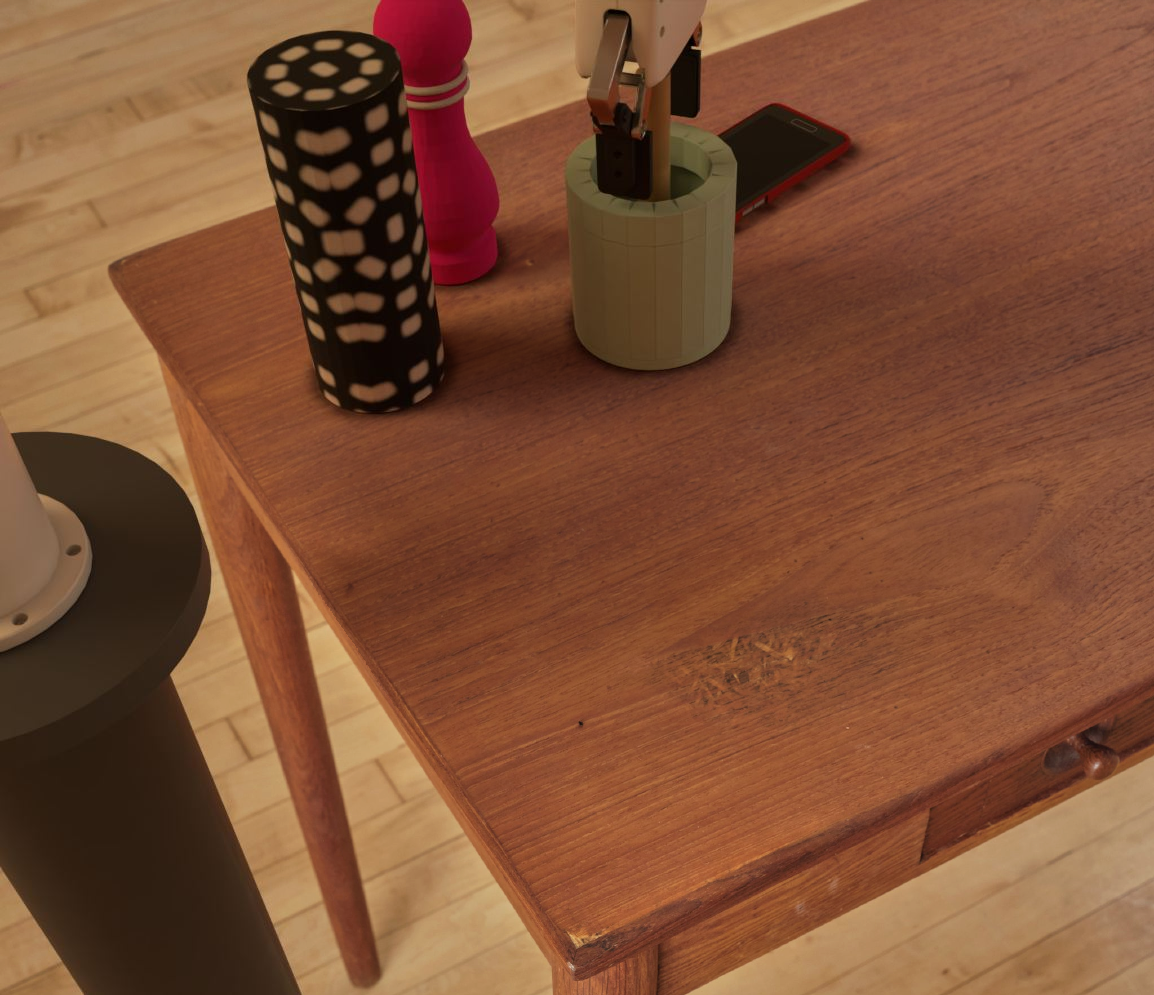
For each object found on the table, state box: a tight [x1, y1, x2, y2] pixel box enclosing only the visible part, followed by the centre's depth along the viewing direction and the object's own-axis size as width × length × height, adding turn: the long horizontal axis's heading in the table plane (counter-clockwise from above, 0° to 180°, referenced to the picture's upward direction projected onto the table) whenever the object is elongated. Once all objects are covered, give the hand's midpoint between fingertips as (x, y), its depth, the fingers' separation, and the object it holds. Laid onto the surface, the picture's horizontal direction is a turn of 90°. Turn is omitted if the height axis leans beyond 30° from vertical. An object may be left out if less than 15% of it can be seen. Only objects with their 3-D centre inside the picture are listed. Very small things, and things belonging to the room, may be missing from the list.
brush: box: [634, 67, 671, 202], centre depth 91 cm, size 4×4×16 cm
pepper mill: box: [372, 0, 501, 286], centre depth 95 cm, size 7×7×20 cm
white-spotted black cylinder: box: [246, 29, 446, 414], centre depth 88 cm, size 8×8×20 cm
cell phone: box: [716, 102, 851, 224], centre depth 107 cm, size 8×15×1 cm, turn 134°
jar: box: [564, 121, 737, 371], centre depth 94 cm, size 10×10×11 cm
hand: (650, 151), depth 88 cm, fingers open, 8 cm apart
